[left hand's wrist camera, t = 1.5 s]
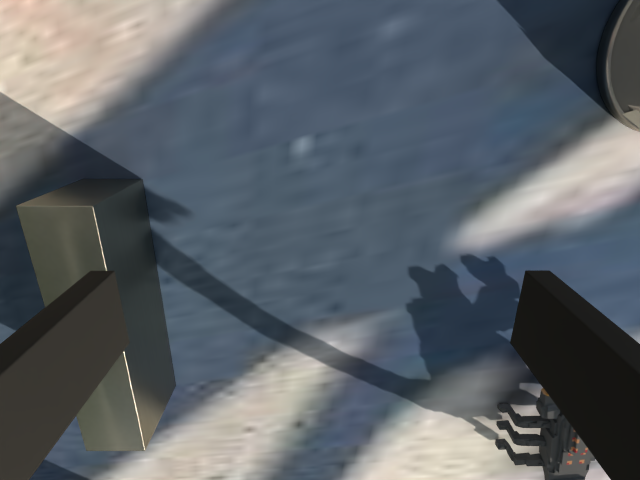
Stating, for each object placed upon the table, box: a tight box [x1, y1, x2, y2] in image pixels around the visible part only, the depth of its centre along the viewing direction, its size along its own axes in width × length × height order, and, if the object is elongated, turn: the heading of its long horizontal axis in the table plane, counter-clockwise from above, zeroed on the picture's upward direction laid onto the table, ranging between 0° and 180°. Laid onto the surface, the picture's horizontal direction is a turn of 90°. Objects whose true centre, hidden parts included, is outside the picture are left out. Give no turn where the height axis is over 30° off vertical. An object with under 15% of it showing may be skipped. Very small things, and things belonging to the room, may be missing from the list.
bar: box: [16, 179, 176, 451], centre depth 40 cm, size 26×6×9 cm, turn 0°
